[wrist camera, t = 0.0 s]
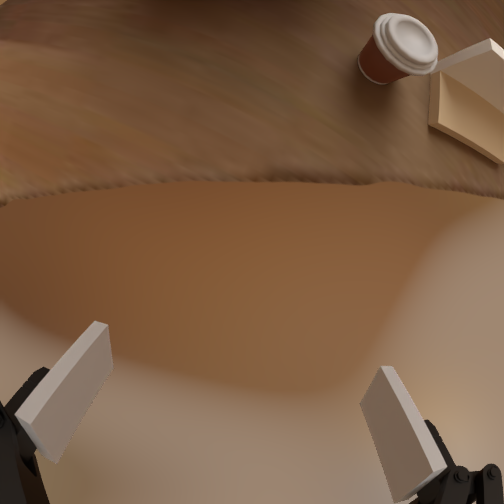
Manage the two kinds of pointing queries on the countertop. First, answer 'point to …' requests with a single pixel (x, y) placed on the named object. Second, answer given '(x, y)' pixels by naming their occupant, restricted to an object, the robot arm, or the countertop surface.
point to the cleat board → (471, 98)
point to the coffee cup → (398, 49)
